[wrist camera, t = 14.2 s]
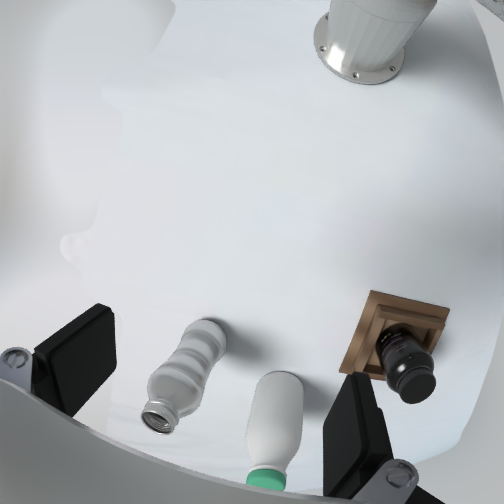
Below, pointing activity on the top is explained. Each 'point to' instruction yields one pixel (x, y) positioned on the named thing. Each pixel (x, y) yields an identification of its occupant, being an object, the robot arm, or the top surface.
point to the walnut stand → (383, 316)
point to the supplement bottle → (406, 363)
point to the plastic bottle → (183, 377)
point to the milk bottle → (274, 429)
